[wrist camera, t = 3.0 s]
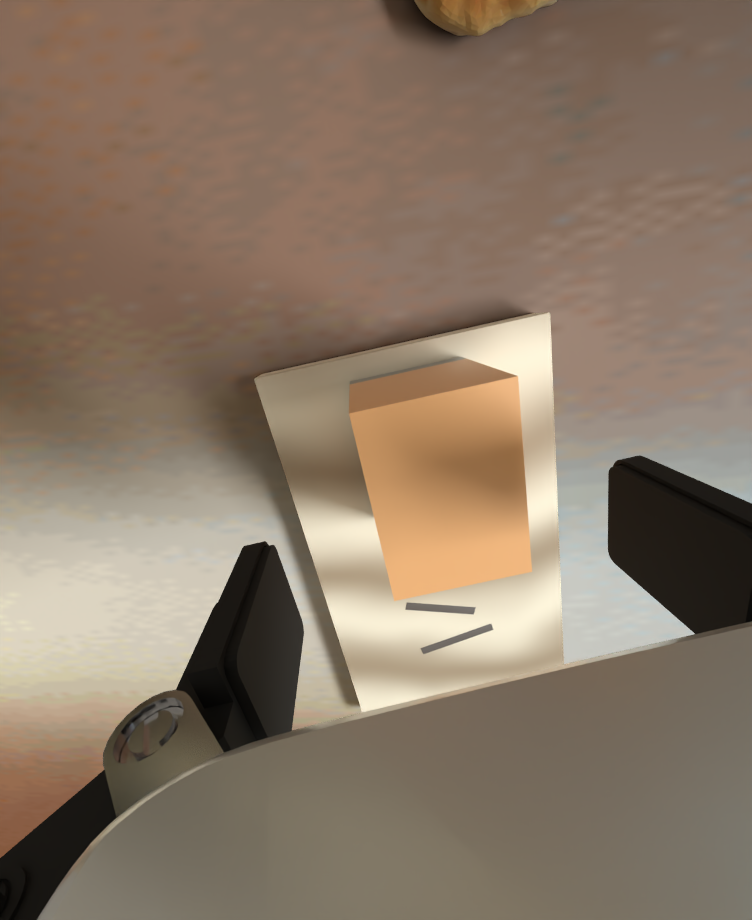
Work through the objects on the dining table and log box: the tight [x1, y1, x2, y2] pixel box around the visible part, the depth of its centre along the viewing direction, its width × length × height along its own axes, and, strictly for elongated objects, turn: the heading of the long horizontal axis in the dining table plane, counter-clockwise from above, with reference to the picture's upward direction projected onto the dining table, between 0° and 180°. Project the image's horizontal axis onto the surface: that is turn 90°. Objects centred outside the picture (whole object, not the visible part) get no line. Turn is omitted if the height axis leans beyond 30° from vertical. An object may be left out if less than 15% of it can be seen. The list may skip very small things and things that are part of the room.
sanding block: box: [349, 357, 532, 601], centre depth 15 cm, size 7×5×6 cm
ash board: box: [254, 313, 564, 712], centre depth 21 cm, size 23×13×2 cm, turn 12°
